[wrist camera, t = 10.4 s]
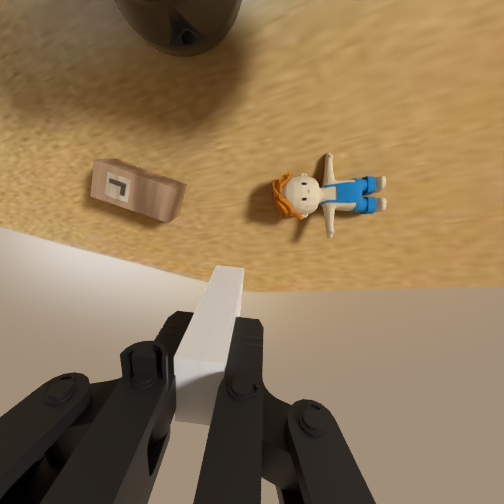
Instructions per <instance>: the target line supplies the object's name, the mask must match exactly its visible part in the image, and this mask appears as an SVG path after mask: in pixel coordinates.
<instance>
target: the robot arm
mask: <svg viewBox="0 0 504 504" xmlns="http://www.w3.org/2000/svg"><path fill="white" fill-rule="evenodd" d="M115 1H116V3H117V5H118V7H119V9H120V10H121V12H122V14H123V15H124V17H125V18H126V19H127V21H128V22H129V24H130V25H131V26H132V27H133V28H134V29H135V30H136V31H137V32H138V33H139V34H140V35H141V36H142V37H143V38H144V39H145V40H146V41H147V42H148V43H150V44H151V45H152V46H154V47H155V48H157V49H159V50H160V51H162V52H165V53H167V54H170V55H174V56H182V57H187V56H194V55H198V54H201V53H204V52H206V51H208V50H210V49H211V48H213V47H214V46H215V45H217V44H218V43H219V42H220V41H221V40H222V39H223V38H224V37H225V35H226V34H227V33H228V31H229V30H230V28H231V27H232V25H233V23H234V21H235V19H236V17H237V14H238V11H239V8H240V5H241V1H242V0H115ZM243 276H244V268H237V267H228V266H219V265H216V267H215V269H214V271H213V274H212V276H211V278H210V280H209V282H208V284H207V287H206V289H205V291H204V293H203V295H202V297H201V300H200V302H199V304H198V306H197V308H196V310H195V313H192V312H183V311H177V312H175V313H174V314H173V315H171V316H170V317H168V319H167V320H166V322H165V324H164V325H163V328H162V329H161V330H160V332H159V335H157V337H156V339H155V340H154V341H142V342H138V343H135V344H133V345H131V346H129V347H127V348H126V349H125V350H124V351H123V352H122V353H121V354H120V359H121V367H122V375H123V376H122V377H121V378H119V379H115V380H111V381H105V382H99V383H92V384H90V383H89V379H88V377H86V376H85V375H84V374H81V373H75V372H74V373H67V374H63V375H60V376H57V377H55V378H53V379H51V380H49V381H48V382H46V383H44V384H43V385H42V386H40V387H39V388H38V389H36V390H35V391H34V392H32V393H31V394H30V395H29V396H27V397H26V398H25V399H23V400H22V401H21V402H19V403H18V404H17V405H16V406H14V407H13V408H12V409H11V410H9V411H8V412H7V413H6V414H4V415H3V416H1V417H0V504H147V503H148V500H149V497H150V494H151V491H152V489H153V485H154V483H155V479H156V477H157V474H158V471H159V468H160V465H161V462H162V459H163V456H164V453H165V450H166V448H167V445H168V442H169V438H170V424H171V421H172V419H173V416H174V413H175V420H176V421H180V422H188V423H196V424H204V425H210V429H209V434H208V438H207V443H206V447H205V452H204V457H203V461H202V466H201V471H200V475H199V480H198V484H197V489H196V494H195V499H194V503H193V504H261V477H262V478H264V479H266V480H267V481H269V482H271V483H273V484H274V485H276V489H277V494H278V499H279V504H376V503H375V501H374V499H373V497H372V495H371V493H370V491H369V489H368V487H367V484H366V482H365V480H364V478H363V476H362V474H361V472H360V470H359V468H358V466H357V464H356V462H355V460H354V457H353V455H352V453H351V452H350V449H349V447H348V445H347V443H346V441H345V439H344V437H343V435H342V433H341V431H340V428H339V427H338V424H337V422H336V420H335V418H334V417H333V416H332V414H331V413H330V411H329V410H328V409H327V408H325V407H324V406H323V405H322V404H320V403H318V402H315V401H313V400H305V399H302V400H299V401H296V402H295V403H294V404H293V405H290V404H288V403H285V402H283V401H281V400H279V399H277V398H275V397H274V396H273V395H272V394H270V393H269V392H268V390H267V389H266V388H265V386H264V383H263V380H262V362H263V326H262V324H261V323H260V321H259V319H251V318H242V317H239V316H240V309H241V298H242V287H243Z"/></svg>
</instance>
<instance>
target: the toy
mask: <svg viewBox="0 0 504 504" xmlns="http://www.w3.org/2000/svg"><path fill="white" fill-rule="evenodd" d="M332 160H333V155H331V153H330V152H329V153H328V154H327V155H326V157H325V170H324V179H323V185H322V187H320V188H319V184H318V182H317V181H316V180H315V179H314V178H311V177H307V174H305V173H303V174H302V175H301V176H297V177H291V175H292V174H290V173H289V171H288V174H287V173H286V174H285V175H283V176H282V177H281V178H280V180H274V181H273V183H272V186H273V192H272V194H273V196H274V197H275V200H274V203H275V205H276V207H277V209H278V211H279V214H280V215H279V217H278V219H280V218H281V217H282V215H283V214H284V218H287V217H288V216H289V217H293V216H294V217H298V218H299V219H300V220H301V219H304V218H306V217H307V216H308V214H311V213H313V212H314V211H315V210H316V209H317V207H318V204H320V206H322V208H323V212H324V217H325V224H326V234H327V237H328V238H329V239H331V238H332V236H333V234H334V229H333V221H334V212H335V210H342V211H348V212H361V214H372V213H374V212H382V211H384V210H385V209H386V199H385V198H375V197H363V198H362V195H368V194H372V193H377V192H380V191H382V190H383V189H384V188H385V186H386V177H385V176H380V177H377V178H375V177H369V176H367V177H364V178H362V179H357V178H356V179H351V180H343V181H336V180H335V179H334V175H333V168H332Z"/></svg>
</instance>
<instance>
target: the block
mask: <svg viewBox="0 0 504 504" xmlns="http://www.w3.org/2000/svg"><path fill="white" fill-rule="evenodd" d="M186 185H187V184H184V183H181V182H179V181H176V180H173V179H170V178H167V177H165V176H162V175H159V174H156V173H153V172H151V171H148V170H145V169H142V168H139V167H137V166H134V165H131V164H128V163H126V162H123V161H120V160H117V159H95V160H94V165H93V175H92V185H91V195H90V196H91V197H94V198H97V199H100V200H103V201H105V202H108V203H111V204H114V205H117V206H120V207H123V208H126V209H129V210H131V211H134V212H137V213H140V214H143V215H146V216H149V217H152V218H155V219H157V220H160V221H163V222H166V223H169V222H170V221H172V220H173V219H175V218H176V217H177V216H179V214H180V210H181V206H182V202H183V197H184V193H185V189H186Z"/></svg>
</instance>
